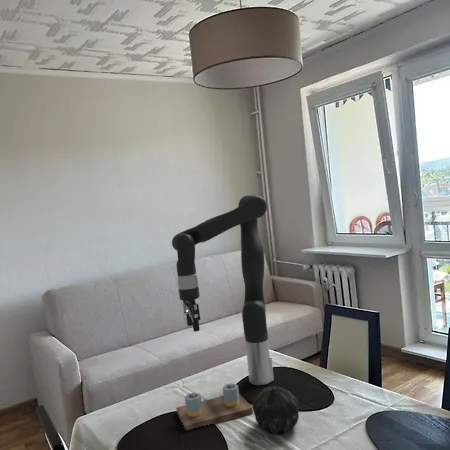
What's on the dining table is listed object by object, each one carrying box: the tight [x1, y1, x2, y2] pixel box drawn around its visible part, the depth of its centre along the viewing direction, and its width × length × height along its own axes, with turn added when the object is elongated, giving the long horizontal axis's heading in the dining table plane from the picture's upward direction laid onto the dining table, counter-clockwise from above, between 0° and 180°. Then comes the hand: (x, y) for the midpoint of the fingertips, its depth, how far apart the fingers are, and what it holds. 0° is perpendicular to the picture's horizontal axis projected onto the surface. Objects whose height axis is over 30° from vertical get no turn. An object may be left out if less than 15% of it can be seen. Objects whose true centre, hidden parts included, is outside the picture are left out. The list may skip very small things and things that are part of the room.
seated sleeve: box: [222, 383, 240, 407], centre depth 160 cm, size 5×5×6 cm
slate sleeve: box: [184, 392, 202, 417], centre depth 156 cm, size 5×5×6 cm
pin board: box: [175, 383, 254, 431], centre depth 158 cm, size 24×14×9 cm, turn 109°
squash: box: [252, 385, 300, 435], centre depth 144 cm, size 14×15×15 cm
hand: (193, 328), depth 168 cm, fingers open, 8 cm apart
